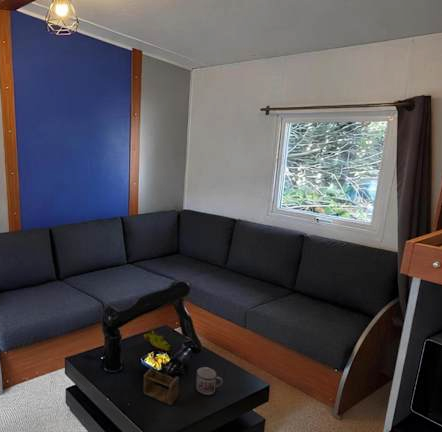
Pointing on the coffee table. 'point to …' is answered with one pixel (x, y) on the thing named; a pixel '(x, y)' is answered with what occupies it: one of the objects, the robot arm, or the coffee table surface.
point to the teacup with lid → (207, 381)
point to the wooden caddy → (159, 391)
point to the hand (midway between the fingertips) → (164, 377)
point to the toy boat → (157, 341)
